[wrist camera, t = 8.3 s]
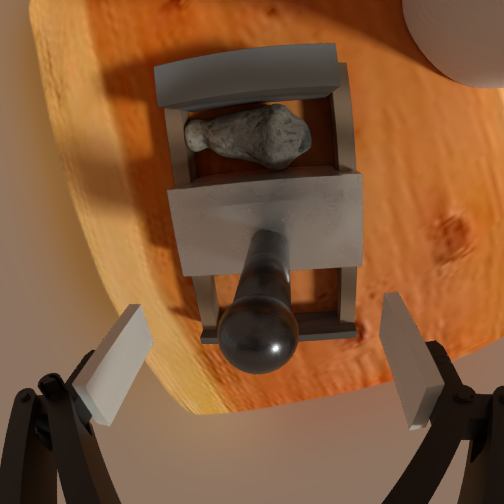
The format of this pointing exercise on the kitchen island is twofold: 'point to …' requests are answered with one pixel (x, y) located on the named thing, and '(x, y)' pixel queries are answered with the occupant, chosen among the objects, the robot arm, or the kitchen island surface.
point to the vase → (460, 38)
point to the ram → (266, 247)
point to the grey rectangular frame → (252, 92)
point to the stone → (253, 136)
